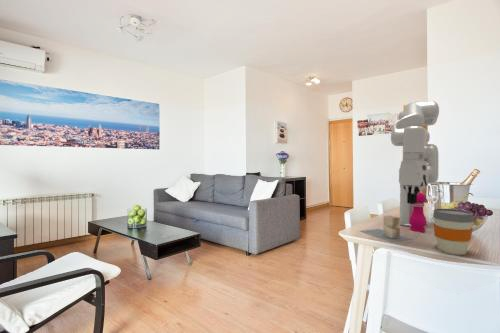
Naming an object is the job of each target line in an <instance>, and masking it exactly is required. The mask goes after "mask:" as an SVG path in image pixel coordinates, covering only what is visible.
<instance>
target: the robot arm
mask: <svg viewBox="0 0 500 333" xmlns="http://www.w3.org/2000/svg"><path fill="white" fill-rule="evenodd" d="M439 115H440V106H439V104H438V103H437V102H436V101H434V100H424V101H413V102H409V103H407V104H406V105H405V106H404V109H403V110H402V111H400V112H399V113H398V116H397V121H395V122H394V123H393V125H392V127H391V132H390V133H391V134H390V141H391V144H392V145H393V146H395V147H402V160H401V161H400V166H399V169H398V183H399V188H400V191H399V217H400V226H403V227H409V228H410V226H411V224H410V223H409V219H410V216H411V215H412V212H413V205H412V204H416V203H417V194H418V193H419V191H420V190H421V192H420V193H422V191H424V190H426V189H427V186H429V184H436V183H437V181H438V179H439V148H438V146H437V145H435V143H433V144H432V143H429V142H430V138H431V137H430V135H431V134H430V132H429V131H428V130H427V129H426V128H425V127H424V126H427V127H429V126H434V125H435V124H436V123H437V121H438V118H439ZM425 218H426V219H427V217H426V216H425Z"/></svg>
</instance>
